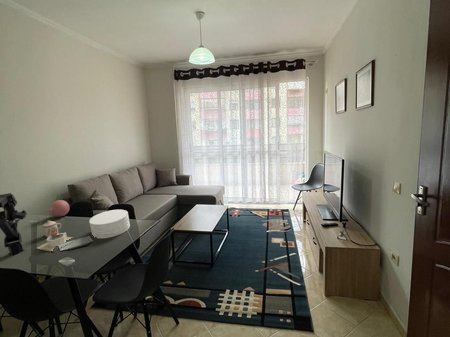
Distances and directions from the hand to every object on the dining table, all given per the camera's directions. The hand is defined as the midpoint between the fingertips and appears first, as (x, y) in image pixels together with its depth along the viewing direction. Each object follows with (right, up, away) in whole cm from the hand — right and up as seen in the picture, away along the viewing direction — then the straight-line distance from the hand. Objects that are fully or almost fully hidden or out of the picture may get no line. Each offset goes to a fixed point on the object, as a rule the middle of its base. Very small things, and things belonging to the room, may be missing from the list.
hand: (15, 230), depth 187 cm
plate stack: (+62, -4, +17) cm, 65 cm away
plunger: (+30, -9, 0) cm, 32 cm away
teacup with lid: (+16, -7, +18) cm, 25 cm away
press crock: (+30, -10, 0) cm, 32 cm away
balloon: (-3, 0, +54) cm, 54 cm away
